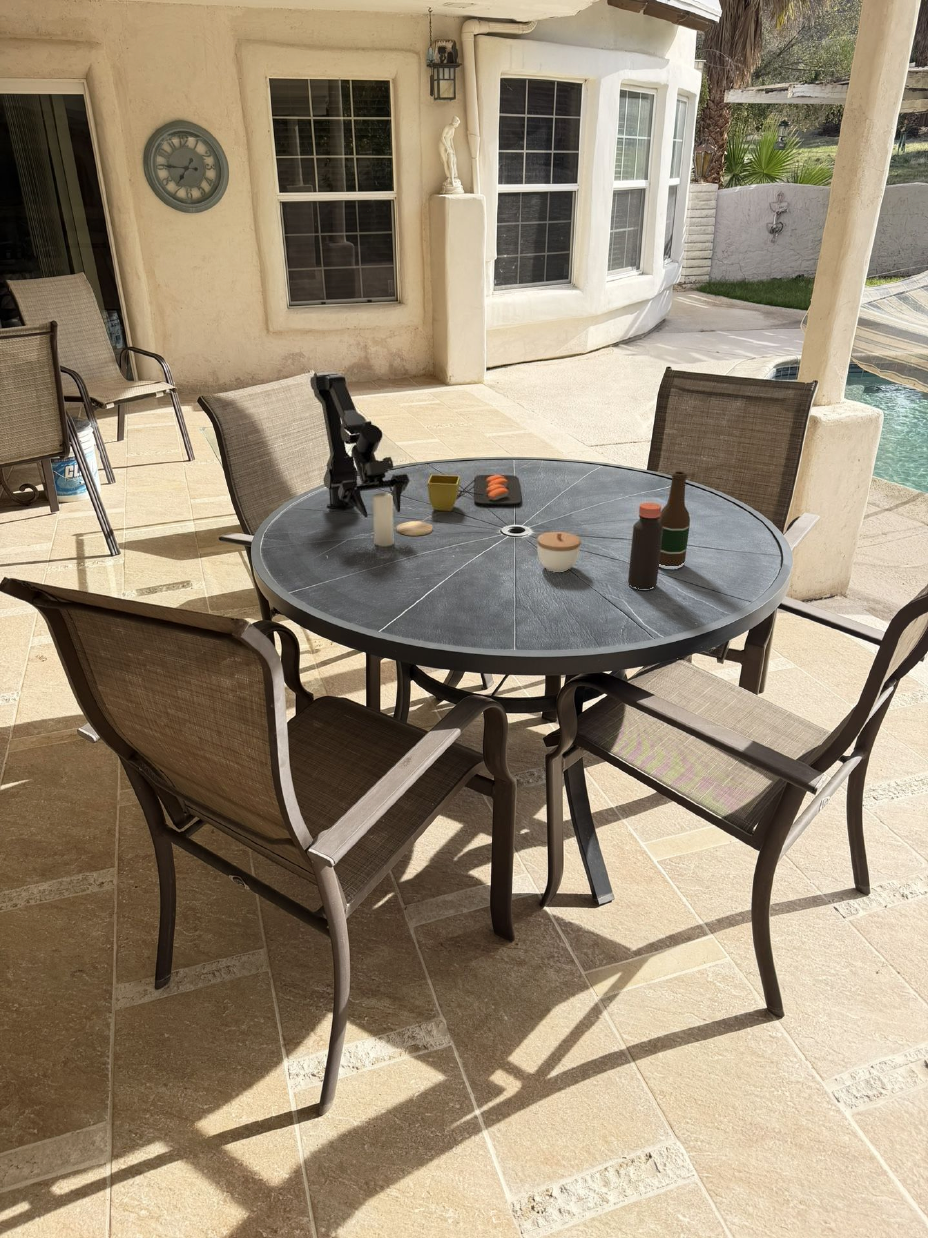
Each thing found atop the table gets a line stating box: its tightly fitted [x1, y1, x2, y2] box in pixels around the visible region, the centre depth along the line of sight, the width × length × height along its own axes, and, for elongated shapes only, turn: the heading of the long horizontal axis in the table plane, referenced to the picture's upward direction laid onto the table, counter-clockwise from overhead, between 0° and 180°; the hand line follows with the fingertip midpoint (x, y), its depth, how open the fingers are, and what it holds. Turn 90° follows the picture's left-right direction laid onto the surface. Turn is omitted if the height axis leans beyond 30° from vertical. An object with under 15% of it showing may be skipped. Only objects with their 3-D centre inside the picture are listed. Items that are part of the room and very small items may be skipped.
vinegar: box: [627, 502, 663, 589], centre depth 203 cm, size 7×7×20 cm
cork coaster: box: [396, 520, 434, 537], centre depth 241 cm, size 10×10×1 cm
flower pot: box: [427, 474, 461, 512], centre depth 256 cm, size 9×9×9 cm
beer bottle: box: [658, 471, 691, 566], centre depth 214 cm, size 8×8×24 cm
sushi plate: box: [426, 474, 522, 505], centre depth 272 cm, size 29×30×4 cm
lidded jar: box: [536, 531, 582, 573], centre depth 215 cm, size 11×11×9 cm
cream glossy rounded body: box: [372, 492, 395, 547], centre depth 229 cm, size 5×5×13 cm
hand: (383, 514), depth 228 cm, fingers open, 9 cm apart
